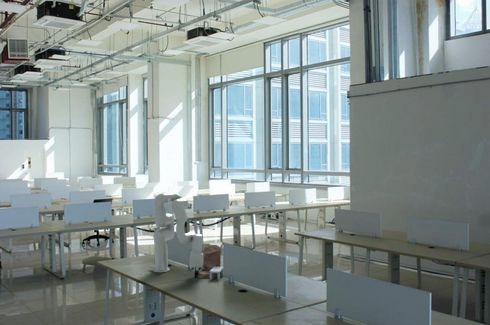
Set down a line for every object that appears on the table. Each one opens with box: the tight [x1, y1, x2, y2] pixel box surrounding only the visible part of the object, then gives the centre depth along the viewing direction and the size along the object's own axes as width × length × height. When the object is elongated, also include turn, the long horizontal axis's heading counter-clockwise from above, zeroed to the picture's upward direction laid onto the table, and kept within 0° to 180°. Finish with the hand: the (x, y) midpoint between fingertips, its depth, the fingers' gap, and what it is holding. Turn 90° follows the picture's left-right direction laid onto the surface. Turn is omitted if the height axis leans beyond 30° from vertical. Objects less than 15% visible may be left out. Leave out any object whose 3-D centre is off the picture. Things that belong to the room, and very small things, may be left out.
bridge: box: [209, 266, 225, 281], centre depth 377 cm, size 7×14×6 cm, turn 170°
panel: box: [197, 270, 218, 279], centre depth 379 cm, size 14×8×3 cm, turn 80°
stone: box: [202, 243, 222, 271], centre depth 397 cm, size 19×11×20 cm, turn 52°
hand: (196, 276), depth 380 cm, fingers closed
